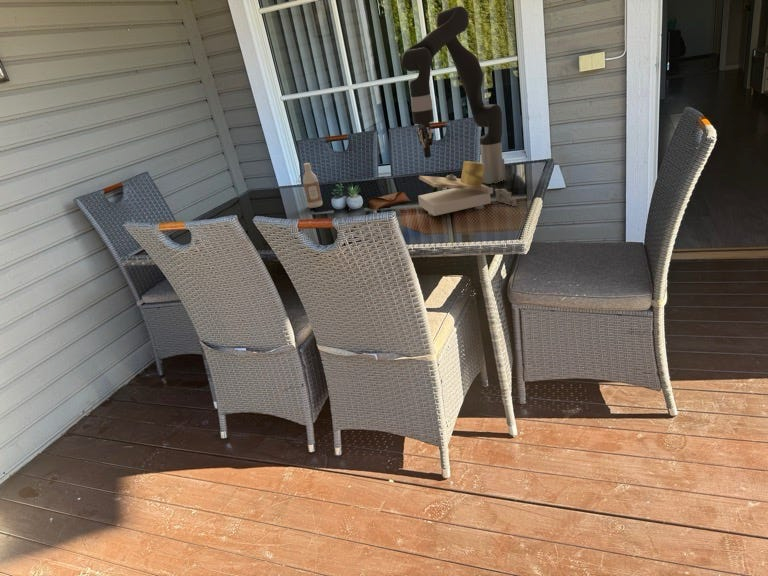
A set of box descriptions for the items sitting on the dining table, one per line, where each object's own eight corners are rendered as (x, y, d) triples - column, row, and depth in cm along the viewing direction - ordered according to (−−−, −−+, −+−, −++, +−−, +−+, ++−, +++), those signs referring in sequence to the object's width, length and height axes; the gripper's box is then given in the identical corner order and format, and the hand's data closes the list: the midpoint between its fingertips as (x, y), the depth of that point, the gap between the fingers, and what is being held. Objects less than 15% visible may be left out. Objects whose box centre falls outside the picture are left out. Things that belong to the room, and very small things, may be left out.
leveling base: (471, 197, 214) (470, 178, 211) (494, 208, 195) (492, 188, 192) (418, 209, 210) (416, 190, 207) (436, 222, 191) (433, 201, 188)
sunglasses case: (375, 210, 218) (370, 196, 219) (371, 215, 225) (366, 201, 226) (412, 200, 224) (407, 186, 225) (407, 206, 231) (403, 192, 231)
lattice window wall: (517, 206, 194) (516, 191, 191) (513, 207, 193) (512, 192, 191) (498, 201, 204) (497, 186, 201) (494, 202, 203) (493, 187, 201)
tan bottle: (309, 209, 238) (299, 166, 230) (307, 205, 245) (298, 163, 236) (323, 206, 239) (314, 163, 231) (322, 202, 246) (313, 161, 237)
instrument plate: (470, 182, 210) (474, 159, 207) (490, 191, 194) (494, 165, 191) (418, 179, 204) (421, 155, 201) (434, 187, 188) (437, 161, 184)
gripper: (438, 108, 180) (443, 157, 187) (426, 106, 192) (431, 153, 199) (418, 111, 179) (423, 161, 186) (407, 109, 191) (412, 156, 198)
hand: (427, 157), depth 192 cm, fingers closed
